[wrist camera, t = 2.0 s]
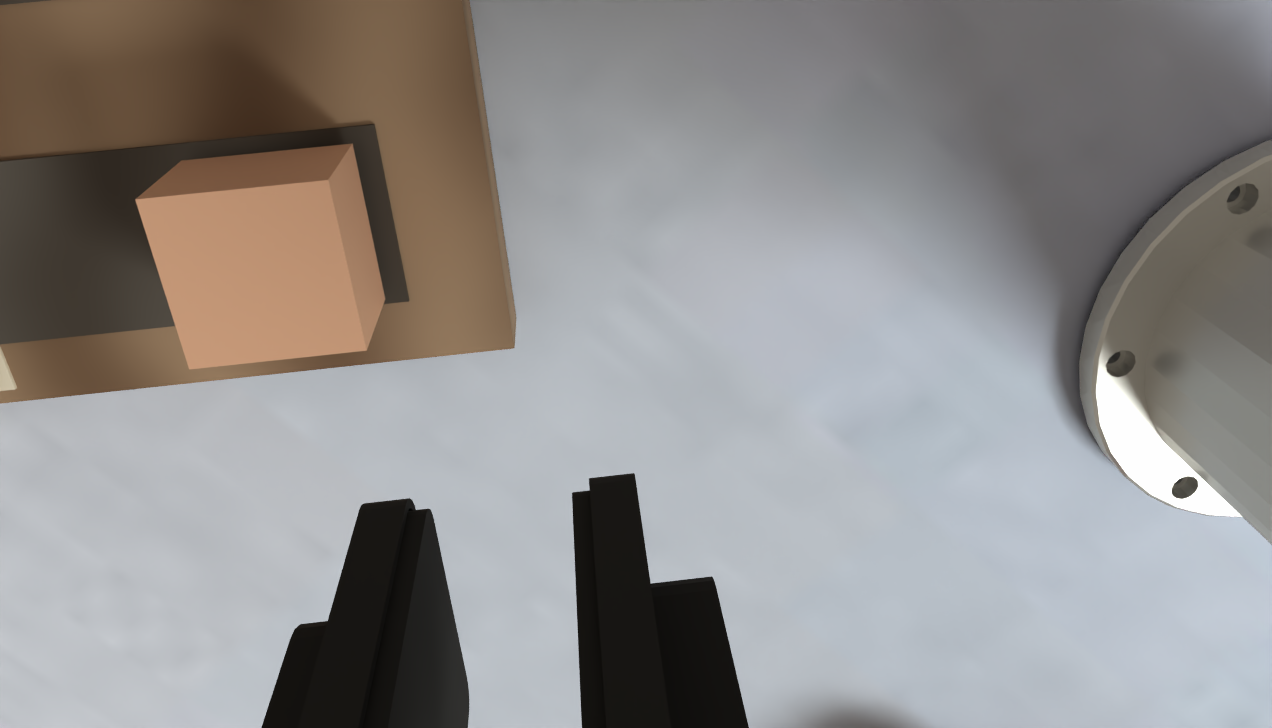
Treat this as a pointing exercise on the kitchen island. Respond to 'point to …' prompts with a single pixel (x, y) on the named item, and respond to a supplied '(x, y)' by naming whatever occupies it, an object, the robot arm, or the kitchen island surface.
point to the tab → (265, 255)
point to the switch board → (225, 126)
